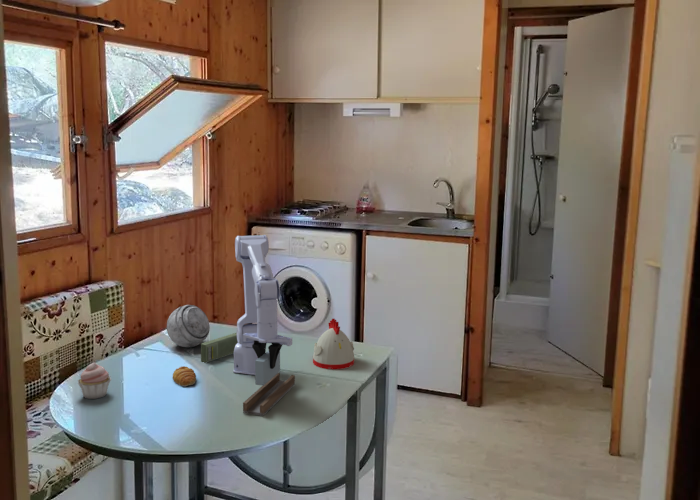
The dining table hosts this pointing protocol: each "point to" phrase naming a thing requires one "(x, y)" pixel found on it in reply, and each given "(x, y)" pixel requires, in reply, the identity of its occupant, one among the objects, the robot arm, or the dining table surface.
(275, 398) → the floor track
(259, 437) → the dining table surface
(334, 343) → the kitchen timer
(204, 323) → the decorative orb
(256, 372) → the door panel
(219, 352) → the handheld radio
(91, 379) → the cupcake
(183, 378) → the pastry
